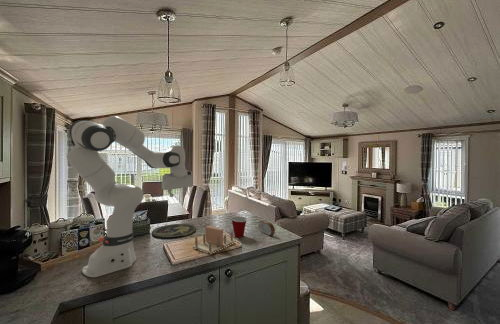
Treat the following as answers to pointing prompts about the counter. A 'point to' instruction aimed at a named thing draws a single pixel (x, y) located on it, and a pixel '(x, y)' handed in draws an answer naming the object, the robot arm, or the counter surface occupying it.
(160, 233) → the decorative plate
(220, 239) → the terracotta tile
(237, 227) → the plastic cup
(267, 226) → the tin
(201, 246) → the dish rack
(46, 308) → the counter surface
